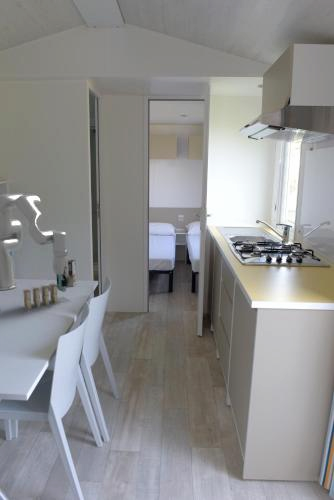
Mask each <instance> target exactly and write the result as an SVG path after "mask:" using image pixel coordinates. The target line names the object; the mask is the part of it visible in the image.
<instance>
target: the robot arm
mask: <svg viewBox="0 0 334 500" xmlns="http://www.w3.org/2000/svg"><path fill="white" fill-rule="evenodd" d="M41 204H42V201H41V199H40V197H39V196H38V195H36V194H32V193H24V192H19V193H17V192H16V193H4V194H0V291H7V290H8V291H9V290H13V289H15V288H17V287H18V284H17V282H15V274H14V273H15V272H14V262H13V258H12V257H13V256H11V255H10V253H11V252H15V251H18V250H20V249H21V247H22V245H23V243H22V242H23V225H22V222H21V221H20V220H19V219H17V218H12V212H11V210H10V209H17V208H18V209H19V211H20V212H21V214H22V216H23V217H25V219H26V221H27V223H28V224H27V230H28V234H29V236H30V237H31V238H32V240H33V241H34V242H35V243H36V244H37V245H39V246H46V245H50V244H52V253H53V258H52V259H53V261H52V267H53V268H52V269H53V270H52V271H53V273H55V274H56V275H55V277H56V285H59V282H58V274H59V275H61V277H62V280H61V284H62V287H64V286H66V287H68V286H67V277H68V276H69V275H68V260H69V259H68V242H67V241H68V238H67V232H65V231H63V230H60V231H59V230H57V229H47V230H44V231H43V230H41V229H40V228H39V226H38V225H37V223H38V222H39V221H40V220H41V219H42V215H43V214H42V212H41V211H40V209H39V208H40V207H41ZM63 273H65V274H63ZM63 275H65V276H64V277H63Z"/></svg>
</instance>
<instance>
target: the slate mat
mask: <svg viewBox="0 0 334 500" xmlns="http://www.w3.org/2000/svg"><path fill="white" fill-rule="evenodd" d="M68 302H72V301H71V300H70V299H69V298H67V297H65V296H60V297H58V303H53V302H52V301H51V299H49V305H45V304H43V303H42V301H40V306H41V307H36V306H34V304H33V303H31V308H32V309H29V310H28V309H27V308H25V307H24V305H22V306H19V308H20V309H21V310H23V311H24V312H26V313H27V312H30V311H34V310H35V311H36V310H39V309H43V308H48V307H52V306H55V305H60V304H63V303H68Z"/></svg>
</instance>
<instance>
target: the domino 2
mask: <svg viewBox="0 0 334 500" xmlns="http://www.w3.org/2000/svg"><path fill="white" fill-rule="evenodd" d="M32 300H33V301H32V304H34V306H36V307H41V306H40V302H41V293H40V288H38V287H36V286H34V287H32Z"/></svg>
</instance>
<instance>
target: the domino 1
mask: <svg viewBox="0 0 334 500" xmlns="http://www.w3.org/2000/svg"><path fill="white" fill-rule="evenodd" d="M31 294H32V293H31V290H30V289H28V288H23V302H24V303H23V304H24V305H23V306H24V307H25V308H27V309H28V310H29V309H32V308H31V304H32V296H31Z"/></svg>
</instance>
